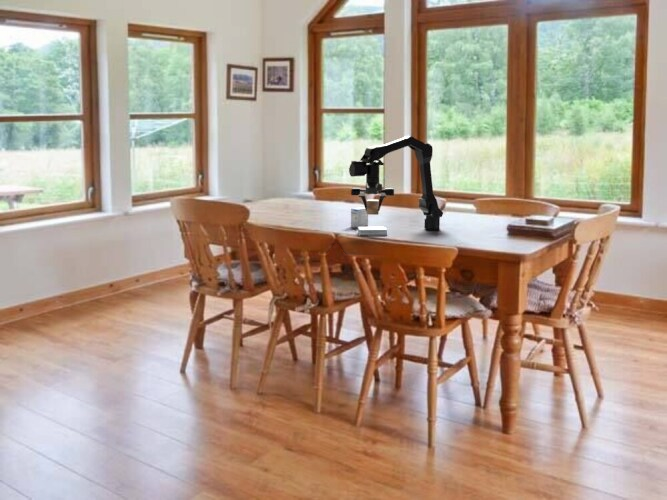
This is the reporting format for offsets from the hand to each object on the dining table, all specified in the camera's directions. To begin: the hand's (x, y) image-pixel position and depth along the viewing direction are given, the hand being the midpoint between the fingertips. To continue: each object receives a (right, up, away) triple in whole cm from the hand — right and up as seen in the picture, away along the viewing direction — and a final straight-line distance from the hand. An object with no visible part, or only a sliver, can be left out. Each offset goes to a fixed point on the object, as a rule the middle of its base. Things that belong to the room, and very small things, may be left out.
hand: (372, 211), depth 338 cm
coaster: (+2, -8, +13) cm, 16 cm away
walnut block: (0, -1, 0) cm, 1 cm away
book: (0, -10, +2) cm, 11 cm away
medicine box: (-5, -6, +23) cm, 24 cm away
